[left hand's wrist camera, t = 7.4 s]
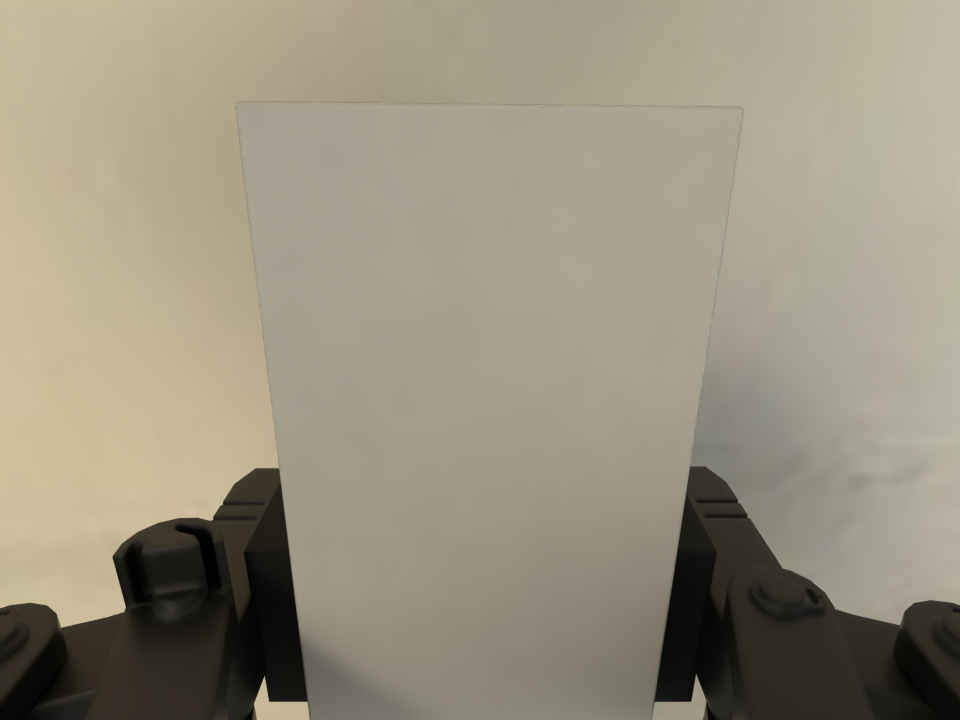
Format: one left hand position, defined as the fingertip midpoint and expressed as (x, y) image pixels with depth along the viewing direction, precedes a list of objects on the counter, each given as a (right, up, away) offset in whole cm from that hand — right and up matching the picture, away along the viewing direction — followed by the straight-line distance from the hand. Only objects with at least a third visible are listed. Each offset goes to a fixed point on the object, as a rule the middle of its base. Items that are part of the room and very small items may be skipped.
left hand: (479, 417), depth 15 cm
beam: (0, -23, +10) cm, 25 cm away
